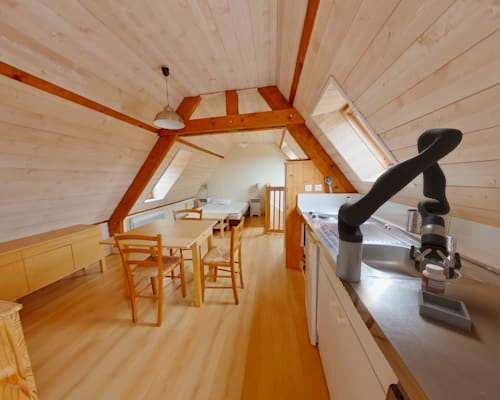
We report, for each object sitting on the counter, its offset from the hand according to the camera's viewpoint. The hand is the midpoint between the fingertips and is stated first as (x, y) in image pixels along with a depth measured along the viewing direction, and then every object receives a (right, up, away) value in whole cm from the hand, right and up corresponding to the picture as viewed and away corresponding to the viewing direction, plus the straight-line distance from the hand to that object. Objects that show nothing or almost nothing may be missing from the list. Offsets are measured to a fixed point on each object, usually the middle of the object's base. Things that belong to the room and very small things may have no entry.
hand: (433, 274), depth 69 cm
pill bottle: (-1, -8, 0) cm, 8 cm away
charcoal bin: (-8, -9, -10) cm, 15 cm away
